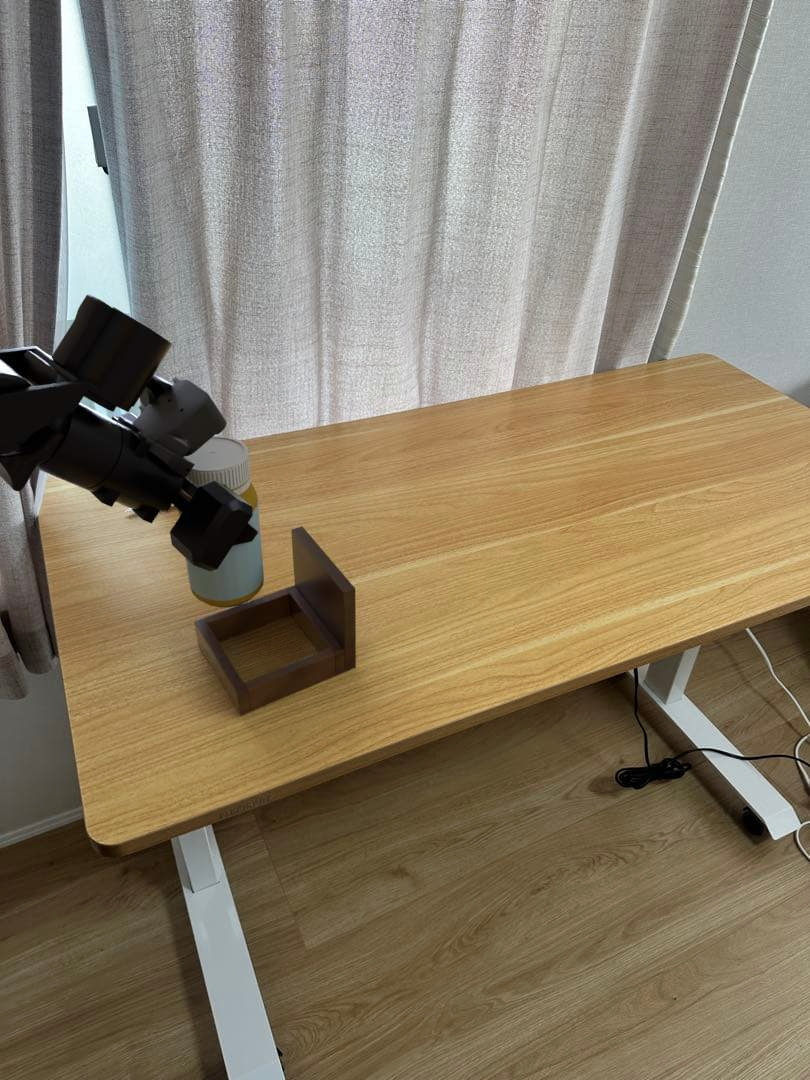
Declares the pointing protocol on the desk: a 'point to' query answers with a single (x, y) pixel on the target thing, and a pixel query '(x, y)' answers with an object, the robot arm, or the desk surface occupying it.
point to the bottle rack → (318, 610)
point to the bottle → (243, 561)
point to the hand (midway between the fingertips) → (233, 518)
